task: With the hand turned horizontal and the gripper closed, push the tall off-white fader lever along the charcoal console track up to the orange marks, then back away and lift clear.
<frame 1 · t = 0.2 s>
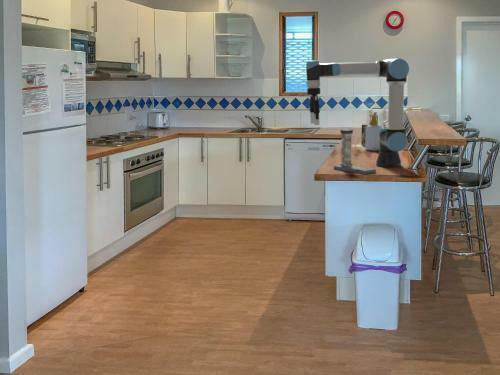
hand: (315, 124, 419), 27 cm above the table, tool pointing down, fingers open, 13 cm apart
coffee box: (368, 146, 545), on the table
soap bottle: (373, 150, 520), on the table
fader console: (354, 170, 420), on the table
fader lever: (346, 147, 423), point 13 cm above the table, slide at 0.0 cm
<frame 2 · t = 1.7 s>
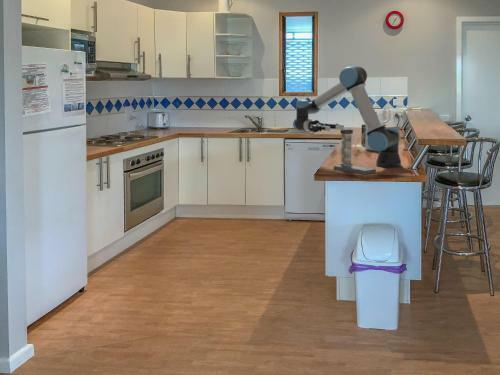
hand: (336, 128, 428), 24 cm above the table, tool horizontal, fingers open, 10 cm apart
nothing on the table moved.
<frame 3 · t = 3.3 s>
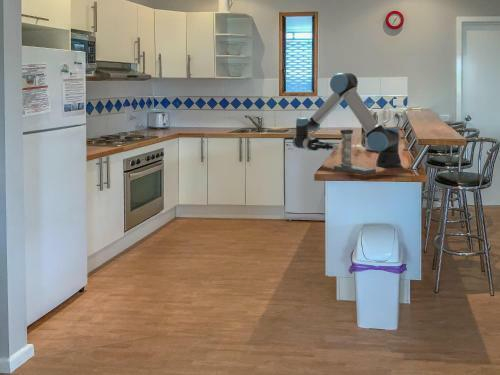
hand: (337, 147, 429), 12 cm above the table, tool horizontal, fingers closed
nothing on the table moved.
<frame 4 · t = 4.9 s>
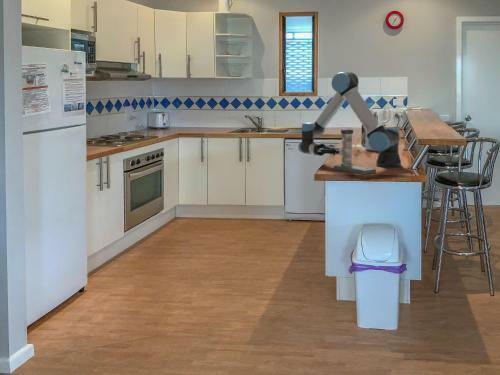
hand: (343, 152, 425), 10 cm above the table, tool horizontal, fingers closed
fader lever: (346, 148, 423), point 13 cm above the table, slide at 0.4 cm, touching gripper
everything else where it was.
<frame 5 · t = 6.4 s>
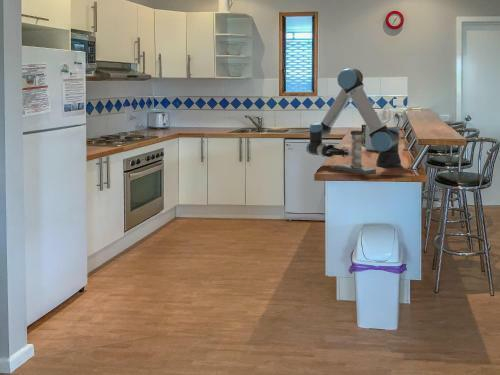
hand: (353, 154, 418), 10 cm above the table, tool horizontal, fingers closed
fader lever: (356, 149, 416), point 13 cm above the table, slide at 8.5 cm, touching gripper
everything else where it was.
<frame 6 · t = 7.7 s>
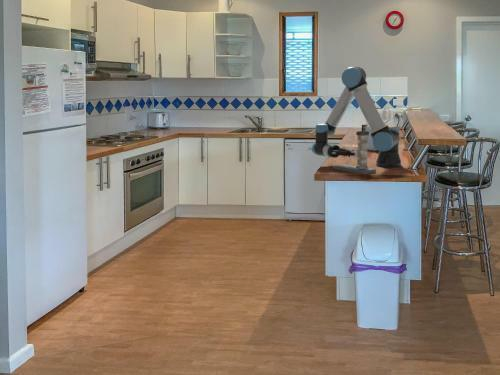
hand: (359, 154, 415), 10 cm above the table, tool horizontal, fingers closed
fader lever: (362, 149, 412), point 13 cm above the table, slide at 13.3 cm, touching gripper
everything else where it was.
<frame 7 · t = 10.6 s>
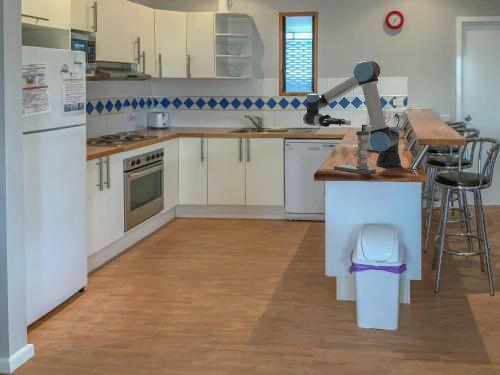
hand: (349, 122, 419), 28 cm above the table, tool horizontal, fingers closed
fader lever: (362, 149, 412), point 13 cm above the table, slide at 13.3 cm
everything else where it was.
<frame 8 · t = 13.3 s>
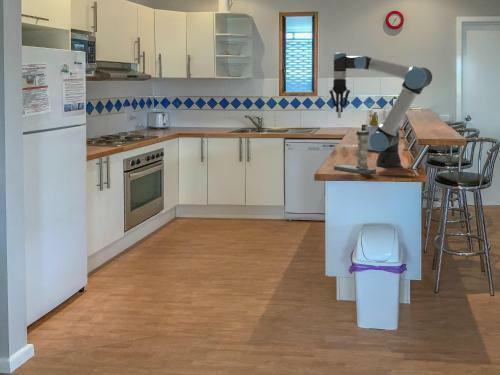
hand: (339, 117, 438), 29 cm above the table, tool pointing down, fingers closed
nothing on the table moved.
at the end: fader lever slide at 13.3 cm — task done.
